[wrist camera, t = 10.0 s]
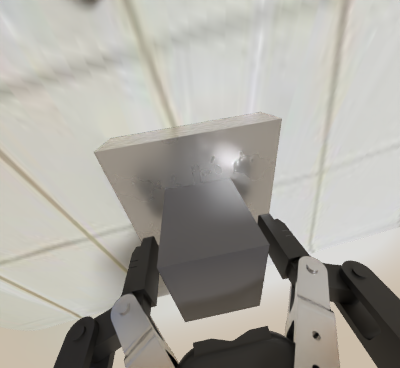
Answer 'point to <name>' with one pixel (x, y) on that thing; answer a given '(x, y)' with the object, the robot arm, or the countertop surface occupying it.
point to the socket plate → (192, 164)
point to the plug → (211, 250)
